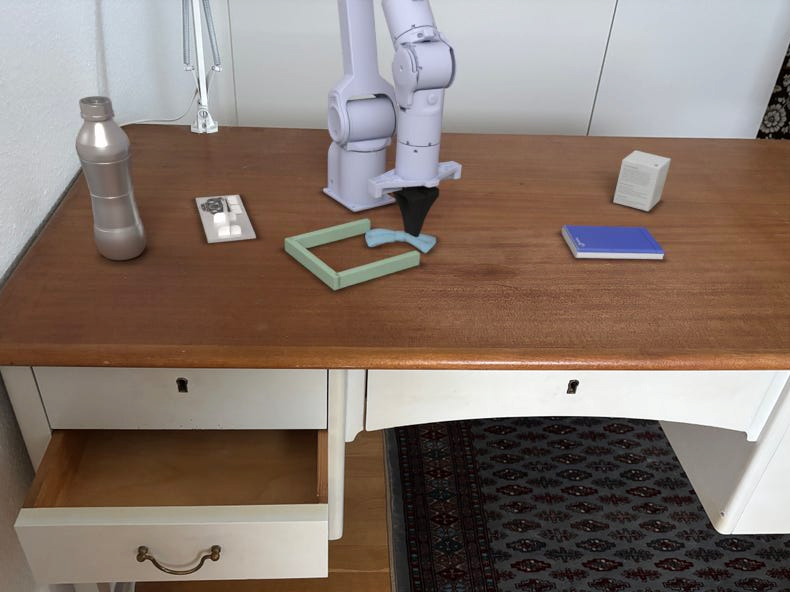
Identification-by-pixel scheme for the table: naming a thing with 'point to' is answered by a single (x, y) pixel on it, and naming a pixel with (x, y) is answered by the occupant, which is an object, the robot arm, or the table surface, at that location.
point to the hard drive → (611, 242)
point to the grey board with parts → (224, 218)
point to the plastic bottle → (109, 180)
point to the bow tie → (399, 238)
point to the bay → (352, 276)
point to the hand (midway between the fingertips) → (411, 234)
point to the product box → (641, 180)
